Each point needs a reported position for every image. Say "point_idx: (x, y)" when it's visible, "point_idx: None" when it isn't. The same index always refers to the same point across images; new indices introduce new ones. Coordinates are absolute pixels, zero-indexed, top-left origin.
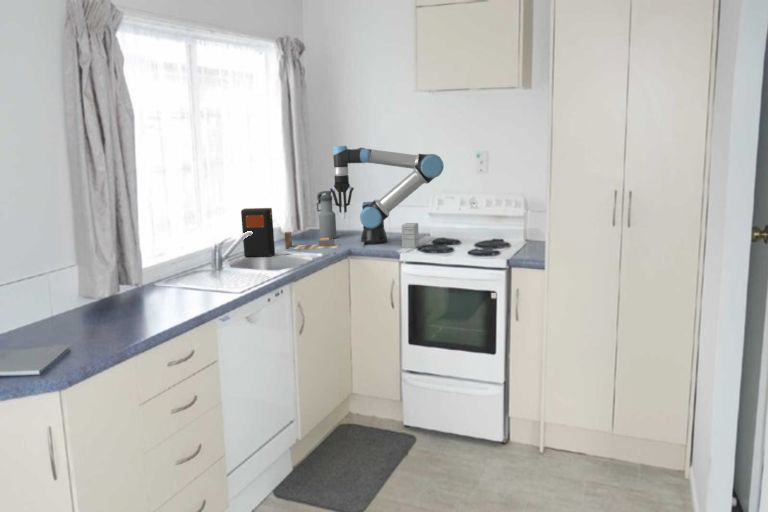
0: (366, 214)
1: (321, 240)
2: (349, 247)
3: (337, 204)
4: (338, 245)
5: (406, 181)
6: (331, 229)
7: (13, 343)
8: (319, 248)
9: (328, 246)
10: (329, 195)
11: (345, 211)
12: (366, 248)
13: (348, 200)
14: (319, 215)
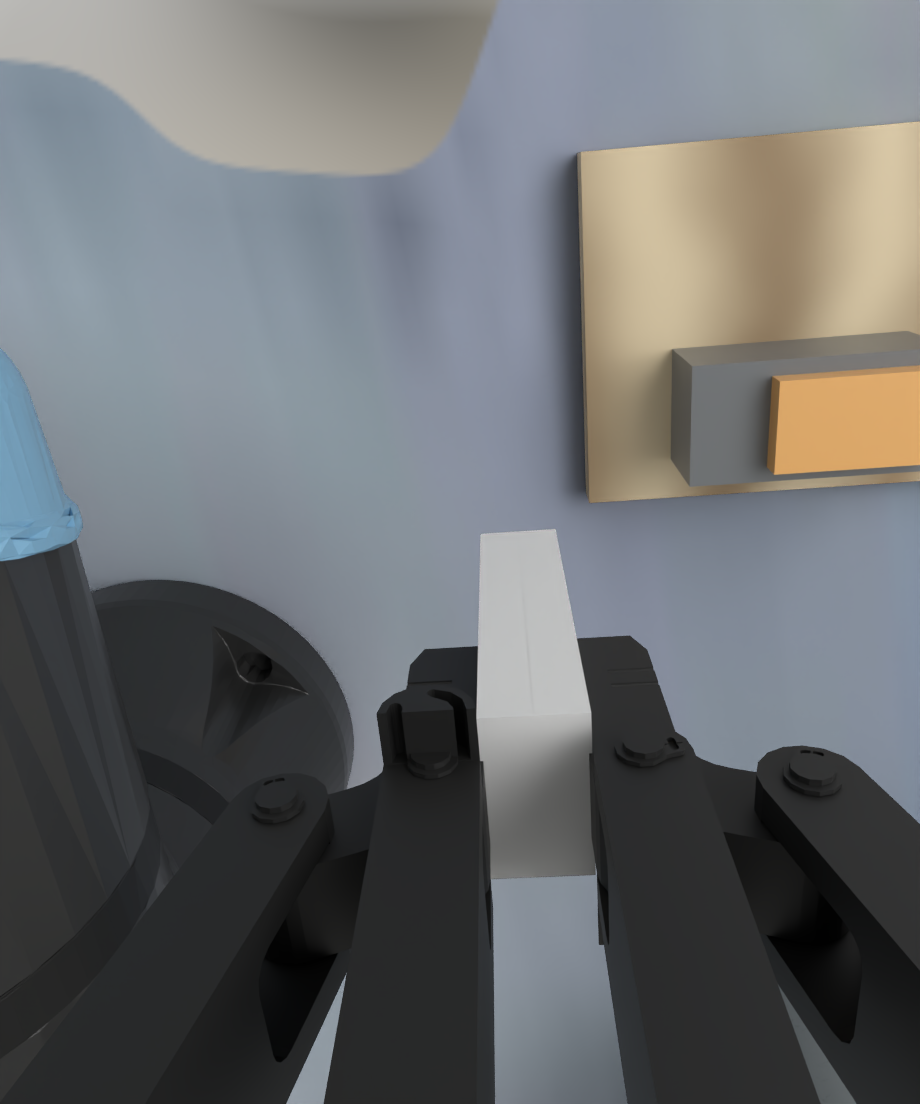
0: None
1: (904, 362)
2: (435, 394)
3: (781, 783)
4: (600, 392)
5: None
6: (803, 1052)
7: None
8: (891, 131)
9: (751, 317)
10: None
11: (443, 665)
12: (155, 294)
13: (205, 944)
14: None
